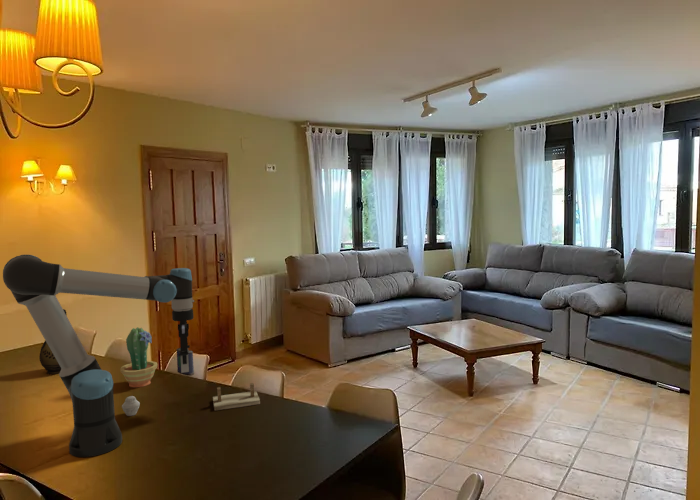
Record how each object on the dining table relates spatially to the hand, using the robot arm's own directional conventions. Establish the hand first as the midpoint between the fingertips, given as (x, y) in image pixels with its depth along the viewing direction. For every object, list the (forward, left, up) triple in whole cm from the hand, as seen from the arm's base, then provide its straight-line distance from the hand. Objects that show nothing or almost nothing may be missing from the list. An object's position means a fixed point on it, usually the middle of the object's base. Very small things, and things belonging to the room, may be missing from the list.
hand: (185, 368), depth 186 cm
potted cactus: (+38, +20, -16) cm, 46 cm away
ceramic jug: (+75, +59, -16) cm, 97 cm away
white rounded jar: (+2, +20, -16) cm, 25 cm away
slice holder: (-1, -18, -15) cm, 24 cm away
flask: (0, 0, -2) cm, 2 cm away
